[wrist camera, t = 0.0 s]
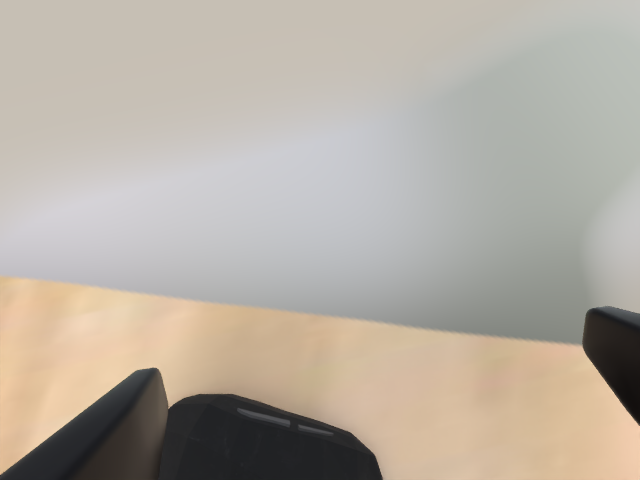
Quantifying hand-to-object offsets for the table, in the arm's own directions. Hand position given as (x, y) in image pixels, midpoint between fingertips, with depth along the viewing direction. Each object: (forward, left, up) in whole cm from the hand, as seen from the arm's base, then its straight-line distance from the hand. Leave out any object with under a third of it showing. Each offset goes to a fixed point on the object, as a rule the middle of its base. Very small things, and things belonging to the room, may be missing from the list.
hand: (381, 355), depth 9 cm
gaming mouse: (-4, +5, -15) cm, 16 cm away
